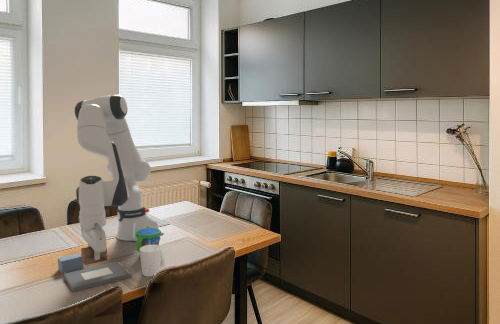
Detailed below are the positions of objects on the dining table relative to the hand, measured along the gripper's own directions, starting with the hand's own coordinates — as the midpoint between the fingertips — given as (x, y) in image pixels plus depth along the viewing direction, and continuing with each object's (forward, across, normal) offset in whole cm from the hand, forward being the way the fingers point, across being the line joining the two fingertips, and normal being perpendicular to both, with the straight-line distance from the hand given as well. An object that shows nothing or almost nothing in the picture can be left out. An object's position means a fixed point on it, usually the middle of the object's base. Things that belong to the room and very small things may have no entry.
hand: (94, 256), depth 147 cm
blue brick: (+8, +14, +6) cm, 17 cm away
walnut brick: (+2, 0, 0) cm, 2 cm away
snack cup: (+8, +11, -25) cm, 29 cm away
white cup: (+8, -8, -19) cm, 22 cm away
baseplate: (+8, 0, 0) cm, 8 cm away
